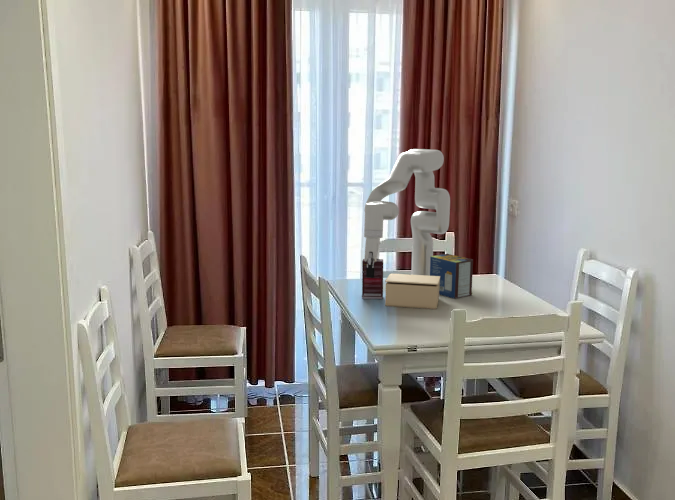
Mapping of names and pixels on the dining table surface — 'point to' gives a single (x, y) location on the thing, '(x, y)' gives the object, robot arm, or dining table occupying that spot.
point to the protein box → (452, 274)
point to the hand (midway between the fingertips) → (372, 274)
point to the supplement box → (373, 281)
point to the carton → (412, 295)
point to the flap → (413, 279)
